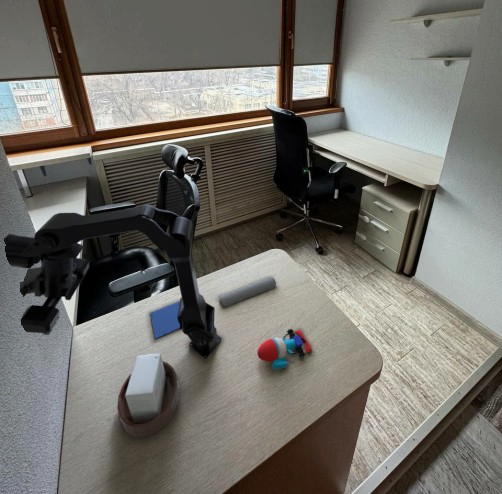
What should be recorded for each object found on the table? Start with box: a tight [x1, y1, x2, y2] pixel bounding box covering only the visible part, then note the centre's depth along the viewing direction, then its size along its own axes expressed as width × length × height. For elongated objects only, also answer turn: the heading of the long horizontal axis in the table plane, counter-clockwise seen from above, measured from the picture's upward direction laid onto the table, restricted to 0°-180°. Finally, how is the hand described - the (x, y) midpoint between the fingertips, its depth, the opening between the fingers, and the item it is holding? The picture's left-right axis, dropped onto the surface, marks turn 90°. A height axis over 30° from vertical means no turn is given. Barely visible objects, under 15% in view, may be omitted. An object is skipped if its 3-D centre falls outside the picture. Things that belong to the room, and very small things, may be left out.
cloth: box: [150, 300, 180, 340], centre depth 82 cm, size 14×9×1 cm, turn 117°
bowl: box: [117, 360, 180, 438], centre depth 61 cm, size 13×13×4 cm
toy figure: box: [257, 328, 313, 371], centre depth 71 cm, size 8×5×15 cm
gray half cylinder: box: [219, 276, 277, 307], centre depth 89 cm, size 4×20×2 cm, turn 115°
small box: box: [125, 353, 166, 423], centre depth 60 cm, size 8×6×10 cm
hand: (58, 315), depth 65 cm, fingers open, 9 cm apart
